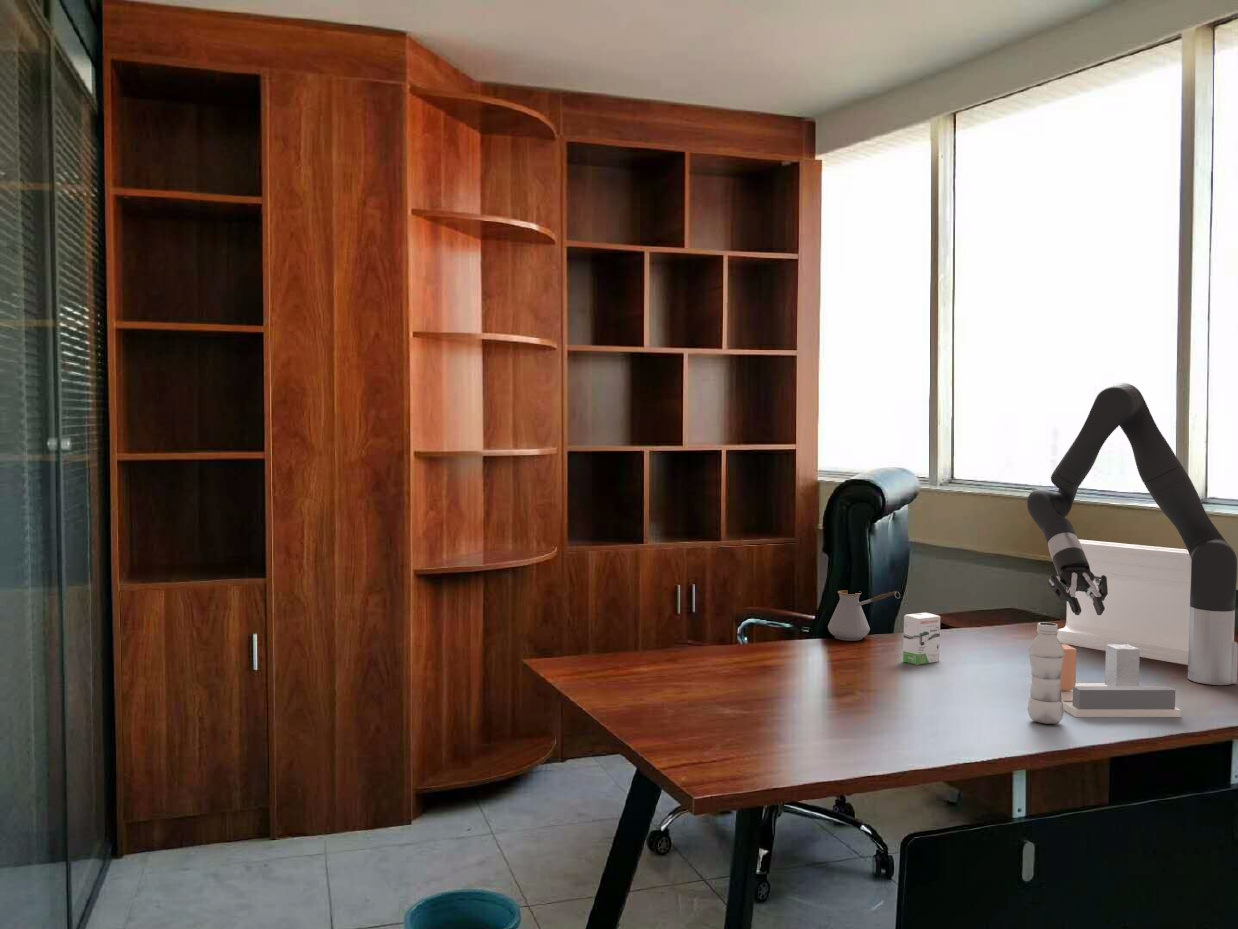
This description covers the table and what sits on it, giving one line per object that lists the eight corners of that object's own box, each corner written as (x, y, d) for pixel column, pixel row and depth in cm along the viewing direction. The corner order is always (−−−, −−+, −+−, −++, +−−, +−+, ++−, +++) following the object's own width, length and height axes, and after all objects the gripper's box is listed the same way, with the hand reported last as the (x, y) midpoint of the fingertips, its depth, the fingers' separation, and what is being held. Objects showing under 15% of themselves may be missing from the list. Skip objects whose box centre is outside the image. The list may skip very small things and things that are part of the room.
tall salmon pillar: (1042, 684, 237) (1043, 644, 236) (1065, 684, 237) (1066, 644, 236) (1052, 690, 232) (1053, 649, 231) (1075, 690, 232) (1076, 649, 231)
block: (1204, 661, 270) (1208, 551, 269) (1191, 665, 265) (1195, 554, 264) (1070, 638, 297) (1073, 539, 296) (1056, 642, 292) (1059, 541, 290)
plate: (1030, 689, 240) (1031, 665, 239) (1126, 689, 240) (1127, 665, 240) (1075, 717, 218) (1075, 690, 217) (1180, 717, 218) (1181, 690, 218)
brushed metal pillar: (1104, 684, 237) (1106, 644, 237) (1126, 684, 237) (1128, 644, 237) (1116, 690, 232) (1117, 649, 232) (1138, 690, 232) (1139, 649, 232)
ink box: (917, 665, 263) (918, 618, 262) (901, 661, 267) (902, 615, 266) (940, 661, 267) (941, 614, 267) (924, 657, 272) (925, 611, 271)
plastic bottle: (1060, 729, 209) (1062, 628, 208) (1024, 724, 212) (1026, 624, 212) (1066, 721, 214) (1068, 623, 213) (1030, 716, 218) (1033, 619, 217)
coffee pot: (819, 637, 296) (820, 584, 295) (843, 632, 303) (844, 580, 303) (886, 650, 280) (887, 593, 279) (909, 644, 288) (910, 589, 287)
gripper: (1044, 546, 258) (1065, 604, 247) (1102, 546, 258) (1125, 604, 247) (1034, 564, 264) (1054, 622, 252) (1091, 565, 264) (1113, 622, 252)
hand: (1089, 613), depth 250 cm, fingers open, 4 cm apart
